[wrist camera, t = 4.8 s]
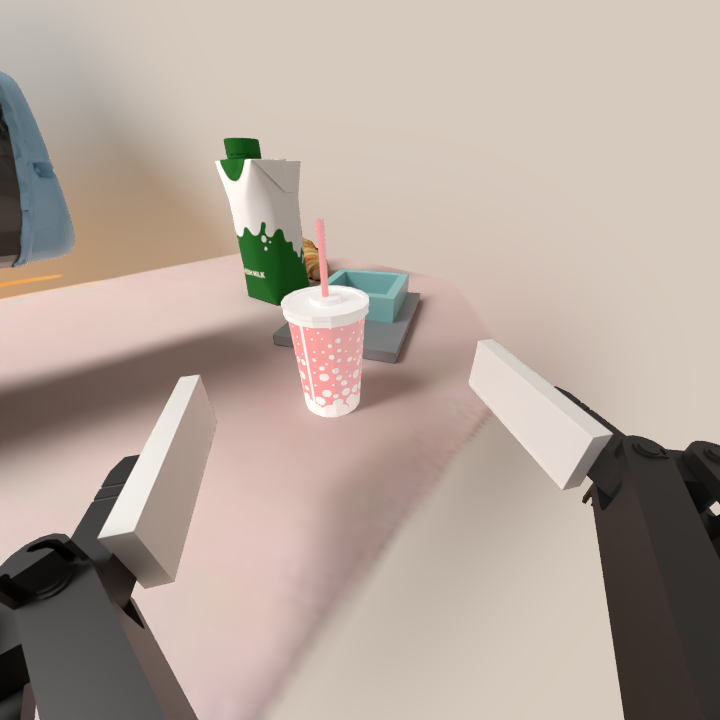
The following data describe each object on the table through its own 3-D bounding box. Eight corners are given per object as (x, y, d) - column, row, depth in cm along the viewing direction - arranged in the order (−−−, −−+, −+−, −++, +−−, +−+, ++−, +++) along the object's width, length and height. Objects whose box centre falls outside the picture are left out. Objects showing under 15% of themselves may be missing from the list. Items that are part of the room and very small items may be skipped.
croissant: (340, 297, 56) (355, 256, 54) (296, 283, 49) (312, 235, 47) (286, 272, 69) (297, 238, 68) (246, 257, 62) (256, 219, 60)
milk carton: (240, 296, 47) (202, 140, 36) (283, 282, 53) (262, 145, 42) (276, 309, 42) (246, 135, 31) (319, 291, 48) (306, 141, 38)
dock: (395, 363, 30) (397, 325, 27) (274, 344, 33) (268, 309, 31) (419, 301, 44) (422, 273, 42) (333, 292, 48) (331, 266, 46)
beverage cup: (381, 392, 26) (388, 217, 18) (340, 435, 22) (327, 230, 14) (327, 371, 29) (314, 212, 21) (281, 405, 24) (244, 222, 17)
